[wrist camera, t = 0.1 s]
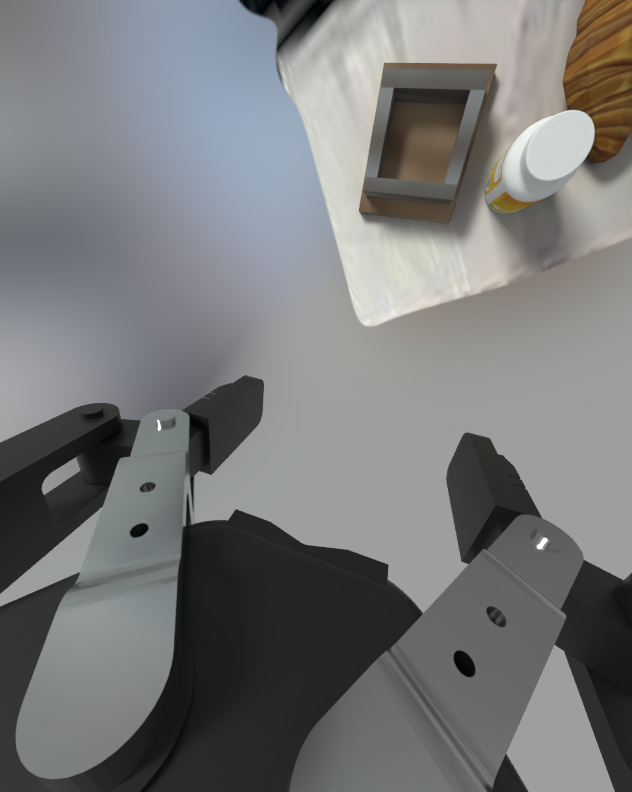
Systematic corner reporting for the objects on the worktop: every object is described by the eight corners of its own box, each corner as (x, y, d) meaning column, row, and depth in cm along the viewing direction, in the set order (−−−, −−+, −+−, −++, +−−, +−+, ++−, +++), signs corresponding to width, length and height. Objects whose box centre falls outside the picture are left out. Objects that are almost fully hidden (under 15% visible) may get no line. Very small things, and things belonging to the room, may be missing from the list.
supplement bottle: (553, 191, 28) (619, 157, 19) (494, 226, 30) (528, 209, 21) (535, 134, 26) (597, 71, 18) (475, 175, 29) (504, 137, 20)
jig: (384, 69, 27) (382, 44, 24) (493, 70, 25) (505, 44, 22) (360, 212, 33) (355, 207, 30) (448, 223, 31) (453, 218, 28)
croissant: (551, -8, 23) (585, -72, 19) (664, -70, 20) (733, -160, 16) (550, 182, 27) (577, 166, 23) (643, 150, 25) (693, 125, 21)
